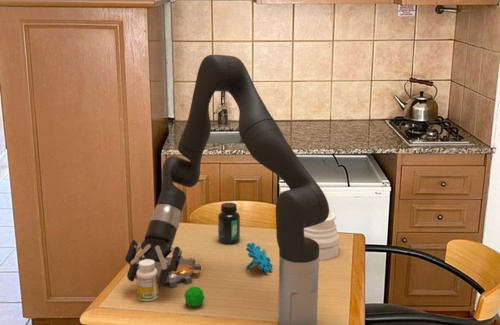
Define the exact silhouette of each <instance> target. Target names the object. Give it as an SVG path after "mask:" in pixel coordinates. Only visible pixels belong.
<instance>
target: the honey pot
mask: <svg viewBox="0 0 500 325" xmlns="http://www.w3.org/2000/svg"><path fill="white" fill-rule="evenodd" d="M336 219H337V215H336V213H334V212H332V211H331V210H330V209H329V215H328V217H327V219H326V220H325V221H324V222H322V223H320V224H317V225H314V226H310V227H307V228H304V237H307V238H310V239H313V240H314V241H316V242H317V243H318V245H319V261H323V260H324V261H325V260H330V259H331V260H332V259H333V258H336V257H337V256H339V250H340V236H339V232H338V229H337V225H336V223H335V220H336Z"/></svg>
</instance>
